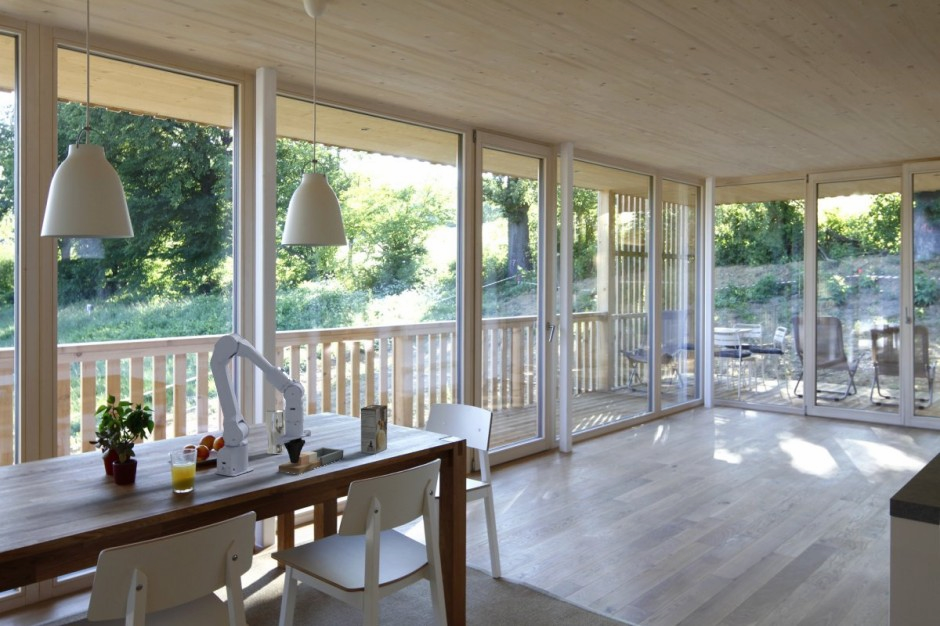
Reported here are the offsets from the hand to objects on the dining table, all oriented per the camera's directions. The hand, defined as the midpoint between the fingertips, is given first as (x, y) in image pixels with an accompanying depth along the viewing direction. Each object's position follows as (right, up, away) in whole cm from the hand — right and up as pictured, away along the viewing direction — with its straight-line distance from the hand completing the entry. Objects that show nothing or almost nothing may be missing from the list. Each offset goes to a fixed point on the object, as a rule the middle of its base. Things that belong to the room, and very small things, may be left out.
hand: (294, 462), depth 237 cm
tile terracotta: (+1, -1, +3) cm, 3 cm away
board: (+1, -3, +3) cm, 4 cm away
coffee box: (+22, -2, +30) cm, 37 cm away
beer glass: (-13, -2, +25) cm, 28 cm away
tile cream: (+3, -1, +6) cm, 7 cm away
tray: (+6, -2, +14) cm, 15 cm away
